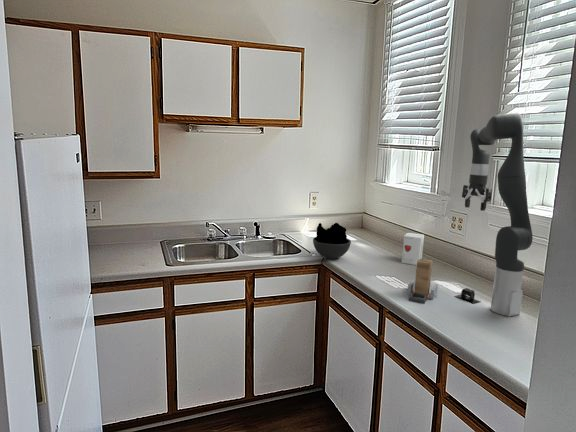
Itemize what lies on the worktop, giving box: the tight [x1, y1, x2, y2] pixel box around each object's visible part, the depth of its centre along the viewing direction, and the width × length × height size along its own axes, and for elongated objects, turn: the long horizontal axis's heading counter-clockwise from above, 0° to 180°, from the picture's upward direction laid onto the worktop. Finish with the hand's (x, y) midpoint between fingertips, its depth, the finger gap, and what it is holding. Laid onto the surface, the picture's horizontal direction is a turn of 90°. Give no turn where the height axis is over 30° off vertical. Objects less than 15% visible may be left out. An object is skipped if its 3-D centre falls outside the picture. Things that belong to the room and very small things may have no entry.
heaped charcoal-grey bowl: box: [312, 222, 352, 260], centre depth 224 cm, size 20×20×19 cm
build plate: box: [453, 287, 482, 305], centre depth 173 cm, size 12×7×5 cm, turn 32°
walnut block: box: [414, 258, 433, 295], centre depth 175 cm, size 5×5×14 cm
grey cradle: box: [406, 279, 439, 301], centre depth 177 cm, size 9×10×4 cm
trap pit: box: [408, 293, 428, 305], centre depth 171 cm, size 6×6×2 cm
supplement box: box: [401, 232, 425, 266], centre depth 222 cm, size 9×9×15 cm
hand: (474, 208), depth 195 cm, fingers open, 8 cm apart
